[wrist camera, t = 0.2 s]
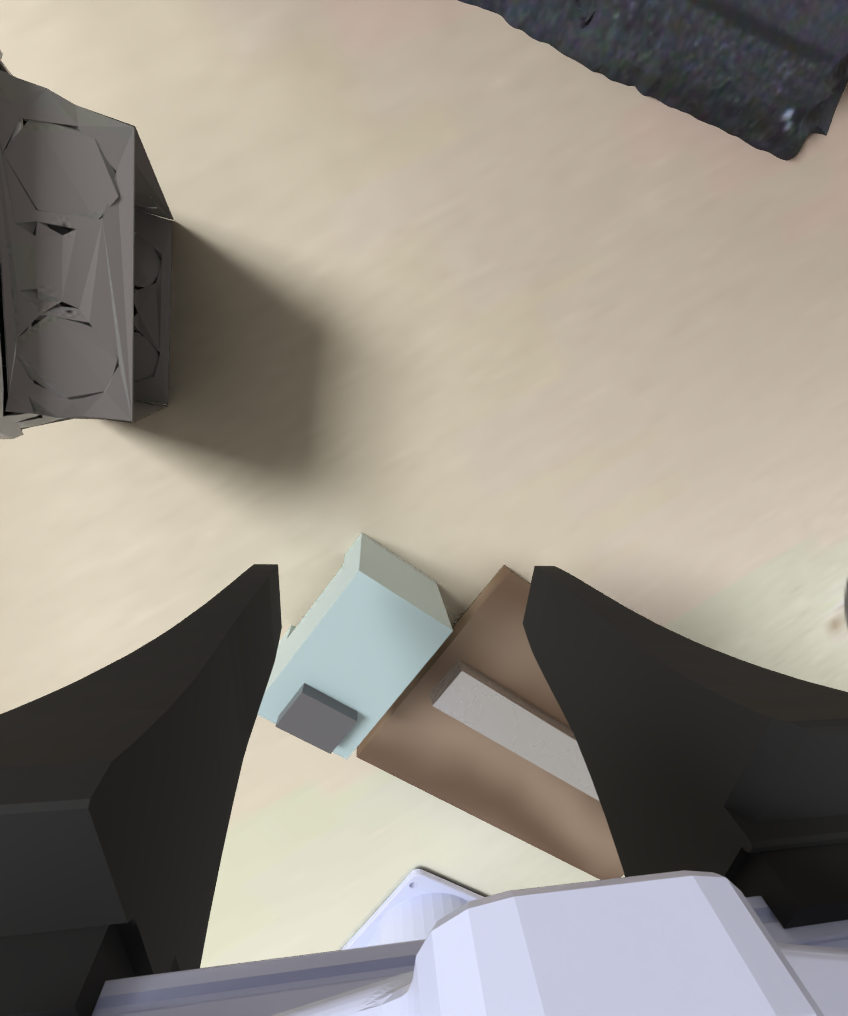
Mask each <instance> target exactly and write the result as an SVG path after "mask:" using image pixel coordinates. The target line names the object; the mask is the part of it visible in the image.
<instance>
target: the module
mask: <svg viewBox="0 0 848 1016" xmlns="http://www.w3.org/2000/svg"><path fill="white" fill-rule="evenodd" d="M452 631H453V629H452V626H451V623H450V620H449V618H448V615H447V612H446V609H445V606H444V603H443V600H442V597H441V595H440V592H439V589H438V586H437V583H436V582H435V581H434V580H432V579H431V578H429V577H428V576H426V575H425V574H423V573H422V572H420V571H419V570H417V569H416V568H414V567H413V566H411V565H410V564H408V563H407V562H405V561H404V560H402V559H401V558H399V557H398V556H396V555H395V554H393V553H392V552H390V551H389V550H387V549H386V548H384V547H383V546H381V545H380V544H378V543H377V542H375V541H374V540H372V539H371V538H369V537H368V536H366V535H365V534H363V533H361V534H360V535H359V537H358V538H357V539H356V541H355V542H354V543H353V545H352V546H351V547H350V549H349V550H348V551H347V553H346V554H345V558H344V564H343V566H342V567H341V568H340V570H339V571H338V572H337V574H336V575H335V576H334V578H333V579H332V580H331V582H330V583H329V584H328V586H327V587H326V588H325V590H324V591H323V592H322V594H321V595H320V596H319V597H318V599H317V600H316V601H315V603H314V604H313V605H312V607H311V608H310V609H309V611H308V612H307V613H306V615H305V616H304V617H303V619H302V620H301V621H300V623H299V624H298V625H297V627H294V626H292V625H291V627H290V628H289V629H288V631H287V632H286V633H285V635H284V636H283V637H282V639H281V640H280V641H279V644H278V649H277V654H276V659H275V663H274V666H273V669H272V672H271V675H270V678H269V681H268V684H267V687H266V690H265V693H264V696H263V699H262V702H261V705H260V708H259V711H258V714H257V715H259V716H261V717H263V718H265V719H267V720H269V721H271V722H273V723H275V724H276V727H278V728H280V729H282V730H284V731H286V732H288V733H290V734H292V735H294V736H296V737H298V738H300V739H302V740H304V741H306V742H308V743H310V744H312V745H314V746H316V747H318V748H320V749H322V750H324V751H326V752H328V753H330V754H331V753H332V752H333V753H335V754H337V755H339V756H341V757H343V758H345V759H348V757H349V756H350V755H351V754H352V753H353V751H354V750H355V749H356V748H357V747H358V745H359V744H360V743H361V742H362V740H363V739H364V738H365V737H366V736H367V734H368V733H369V732H370V731H371V730H372V728H373V727H374V726H375V725H376V724H377V722H378V721H379V720H380V719H381V717H382V716H383V715H384V714H385V713H386V711H387V710H388V709H389V708H390V707H391V705H392V704H393V703H394V702H395V701H396V699H397V698H398V697H399V696H400V694H401V693H402V692H403V691H404V690H405V688H406V687H407V686H408V685H409V684H410V682H411V681H412V680H413V679H414V678H415V676H416V675H417V674H418V673H419V671H420V670H421V669H422V668H423V667H424V665H425V664H426V663H427V662H428V661H429V659H430V658H431V657H432V656H433V654H434V653H435V652H436V651H437V650H438V648H439V647H440V646H441V645H442V644H443V642H444V641H445V640H446V639H447V638H448V636H449V635H450V634H451V633H452Z"/></svg>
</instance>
